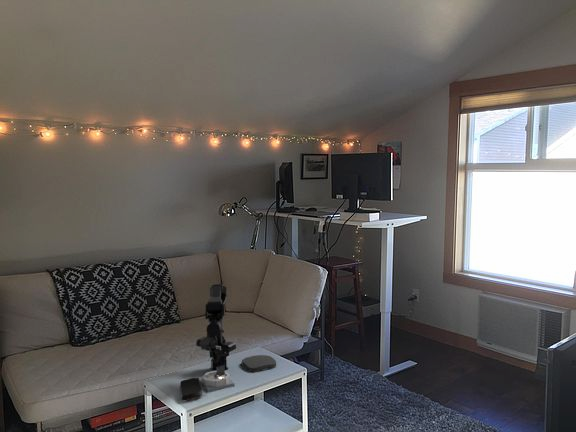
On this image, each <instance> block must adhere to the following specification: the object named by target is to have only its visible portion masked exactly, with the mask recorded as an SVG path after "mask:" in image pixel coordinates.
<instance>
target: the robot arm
mask: <svg viewBox="0 0 576 432" xmlns="http://www.w3.org/2000/svg"><path fill="white" fill-rule="evenodd" d="M209 297H210V298H209V299H207V302H206V303H205V315H204V317H205V320H208V323H207V325H206V336H202V337H200V338H198V339H197V340H196V341H195V343H196V344H195V345H196V347H199V348H200V349H201V350H203V351H206V352H207V351H209V359H210V368H211V369H212V371H217V369H216V367H217V366H220V365H224V366H225V371H226V370H229V367H228V365H227V363H228V362H227V358H228V357H229V356H230V353H231V352H233V351H235V350H236V349H237V344H236V343H235V342H232V341H227V340H226V338H225V337H224V336H223V335H224V332H225V331H224V316H226V315H225V311H226V310H225V309H226V308H225V306H226V305H225V304H226V303H227V298H228V288H227V287H226V286H225V285H223V284H221V283H213V284H212V285H211V286H210V287H209Z"/></svg>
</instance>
